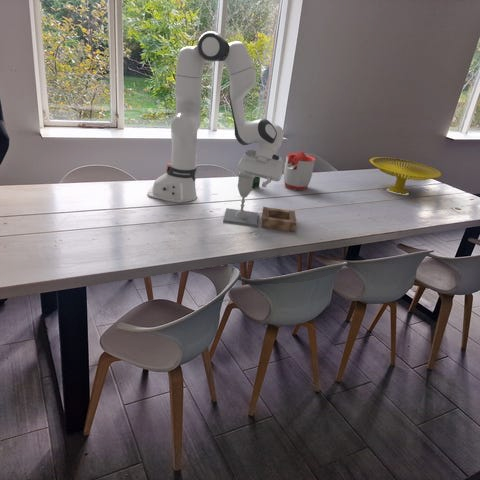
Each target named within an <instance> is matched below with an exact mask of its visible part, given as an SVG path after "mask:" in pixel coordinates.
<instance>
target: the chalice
mask: <svg viewBox="0 0 480 480" xmlns="http://www.w3.org/2000/svg"><path fill="white" fill-rule="evenodd" d="M237 177H238V178H237V179H238V182H237V189H238V193H239V196H240V197H241V201H240V202H241V204H240V209H237V210H238V211H237V213H236V215H235V216H236V217H238V218H247V215H246V212H245V211H246V210H244V208H245V199H246V198H248V196H249V194H251V192H252V189H253V188H252V186H253V179H254V178H255V176H254V175H252V174H248V173H238V174H237Z"/></svg>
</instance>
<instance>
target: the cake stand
mask: <svg viewBox="0 0 480 480" xmlns="http://www.w3.org/2000/svg"><path fill="white" fill-rule="evenodd" d="M369 163H370V164H372V166H374V167H375V168H377V169H378V170H379V171H381V172H382V173H384V174H387V175H389V176H391V177H392V176H393V177H395V178H396V180H395V184H394V185H392V186H388V189H389V190H390V191H393V192H396V193H401V194H406V193H409V192H410V191H408V190H407V189H406V188H404V187H405V184H406V182H407V180H410V181H419V182H420V181H427V180H433V179H436V178H437V179H438V178H441V177H442V172H441V171H440V170H438V169H436V168H434V167H432V166H429V165H426V164H422V163H420V162H416V161H411V160H408V159H402V158H396V157H393V158H392V157H387V156H386V157H384V156H383V157H379V156H378V157H372V158H370V159H369Z"/></svg>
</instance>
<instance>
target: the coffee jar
mask: <svg viewBox="0 0 480 480" xmlns="http://www.w3.org/2000/svg"><path fill="white" fill-rule="evenodd" d="M256 152H257V150H256V151H255V150H254V149H251V150H250V149H249V150H248V149H247V150H246V152H245V154H244V155H246V154H249V155H254V156H255V154H256ZM260 183H261V178H260V177H256V176H255V178H254V179H253V186H252V189H257V188H259V187H260Z"/></svg>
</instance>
